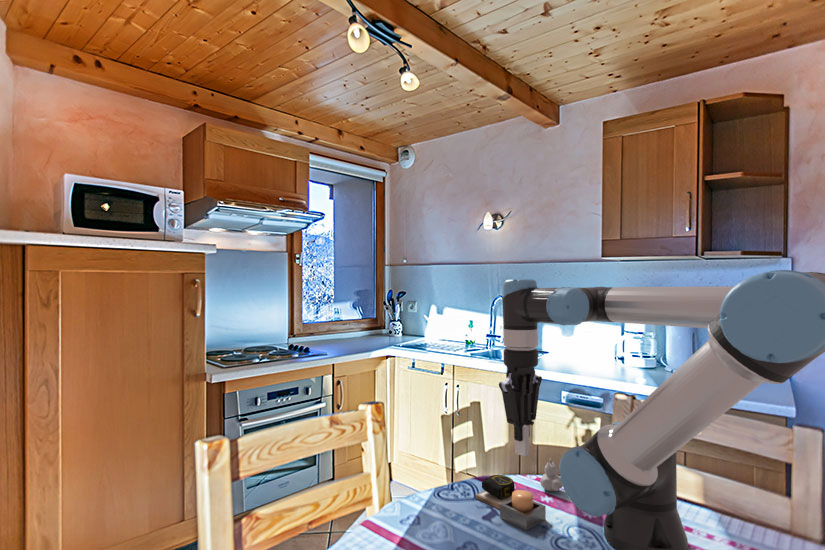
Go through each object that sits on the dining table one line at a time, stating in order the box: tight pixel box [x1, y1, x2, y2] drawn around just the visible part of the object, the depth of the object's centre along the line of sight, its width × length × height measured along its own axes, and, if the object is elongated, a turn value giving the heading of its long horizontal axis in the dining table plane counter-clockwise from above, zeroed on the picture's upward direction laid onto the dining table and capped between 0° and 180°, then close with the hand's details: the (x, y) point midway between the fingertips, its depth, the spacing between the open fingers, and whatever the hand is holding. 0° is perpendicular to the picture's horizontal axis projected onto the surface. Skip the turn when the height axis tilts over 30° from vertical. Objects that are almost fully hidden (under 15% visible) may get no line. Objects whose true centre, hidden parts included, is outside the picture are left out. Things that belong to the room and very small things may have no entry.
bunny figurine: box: [540, 458, 563, 492], centre depth 116 cm, size 5×7×8 cm
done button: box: [512, 489, 534, 514], centre depth 102 cm, size 5×5×3 cm
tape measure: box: [481, 474, 516, 500], centre depth 112 cm, size 7×7×4 cm
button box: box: [499, 499, 547, 531], centre depth 102 cm, size 7×7×3 cm
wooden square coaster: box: [474, 490, 512, 510], centre depth 112 cm, size 9×9×1 cm
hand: (522, 454), depth 103 cm, fingers closed
